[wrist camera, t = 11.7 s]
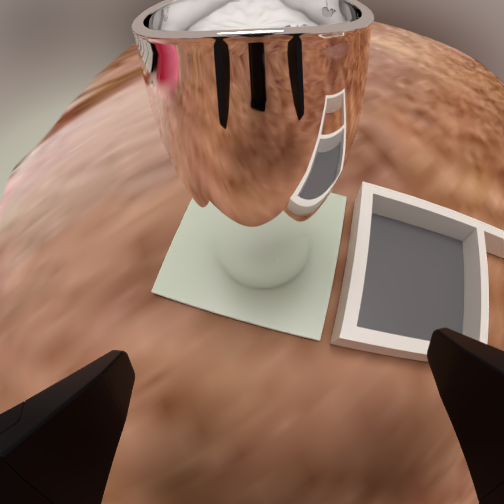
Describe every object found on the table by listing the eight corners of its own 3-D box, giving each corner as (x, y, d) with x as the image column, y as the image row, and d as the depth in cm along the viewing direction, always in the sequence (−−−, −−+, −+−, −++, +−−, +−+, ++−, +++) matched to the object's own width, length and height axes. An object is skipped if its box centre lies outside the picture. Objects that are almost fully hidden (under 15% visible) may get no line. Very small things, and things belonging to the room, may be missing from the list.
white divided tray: (532, 262, 17) (547, 252, 15) (533, 372, 13) (552, 367, 11) (208, 171, 22) (202, 149, 20) (153, 293, 18) (138, 280, 16)
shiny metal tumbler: (190, 265, 18) (75, 46, 5) (243, 188, 21) (217, -21, 7) (287, 315, 17) (349, 68, 3) (331, 225, 19) (394, 4, 6)
